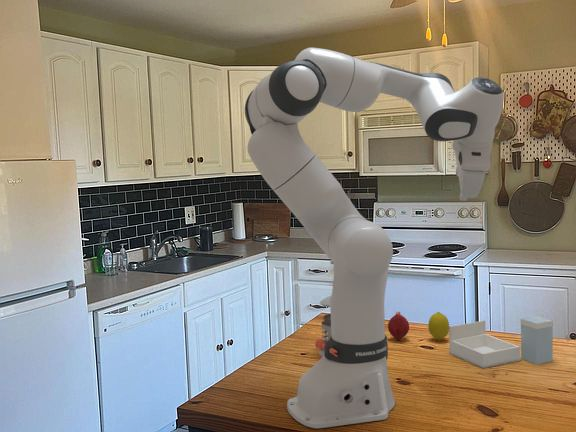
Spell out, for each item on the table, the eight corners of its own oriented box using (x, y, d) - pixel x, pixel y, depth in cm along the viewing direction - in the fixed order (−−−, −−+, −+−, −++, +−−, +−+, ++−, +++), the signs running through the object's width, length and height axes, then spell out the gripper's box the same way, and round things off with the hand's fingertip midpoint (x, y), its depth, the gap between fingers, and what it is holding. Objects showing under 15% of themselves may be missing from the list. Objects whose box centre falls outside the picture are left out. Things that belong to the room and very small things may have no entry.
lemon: (452, 338, 163) (451, 310, 162) (445, 344, 159) (445, 315, 158) (432, 336, 166) (431, 308, 165) (425, 342, 161) (425, 313, 161)
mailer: (483, 368, 140) (482, 339, 139) (449, 353, 152) (449, 326, 151) (520, 360, 144) (519, 332, 143) (484, 346, 156) (484, 320, 155)
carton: (536, 364, 141) (536, 323, 140) (520, 358, 146) (520, 318, 145) (553, 361, 143) (552, 320, 142) (536, 355, 148) (536, 315, 147)
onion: (411, 342, 162) (410, 314, 161) (390, 343, 162) (389, 314, 161) (407, 336, 167) (406, 308, 167) (386, 337, 167) (386, 309, 167)
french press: (353, 345, 161) (350, 255, 159) (359, 360, 150) (356, 262, 147) (317, 347, 161) (313, 257, 158) (321, 362, 149) (317, 264, 147)
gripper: (454, 116, 148) (445, 160, 158) (463, 168, 133) (451, 212, 143) (480, 118, 148) (469, 161, 157) (491, 170, 133) (478, 214, 143)
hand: (460, 186), depth 150 cm, fingers open, 8 cm apart
